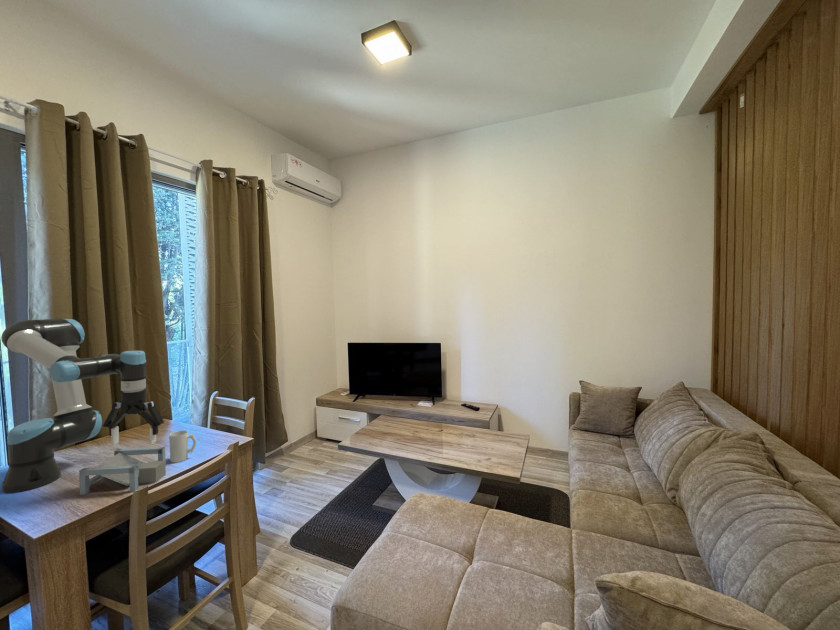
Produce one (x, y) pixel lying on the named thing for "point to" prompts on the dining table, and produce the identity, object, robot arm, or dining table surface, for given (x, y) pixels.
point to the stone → (152, 472)
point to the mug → (180, 445)
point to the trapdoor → (120, 461)
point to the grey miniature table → (118, 469)
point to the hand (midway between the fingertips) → (134, 443)
